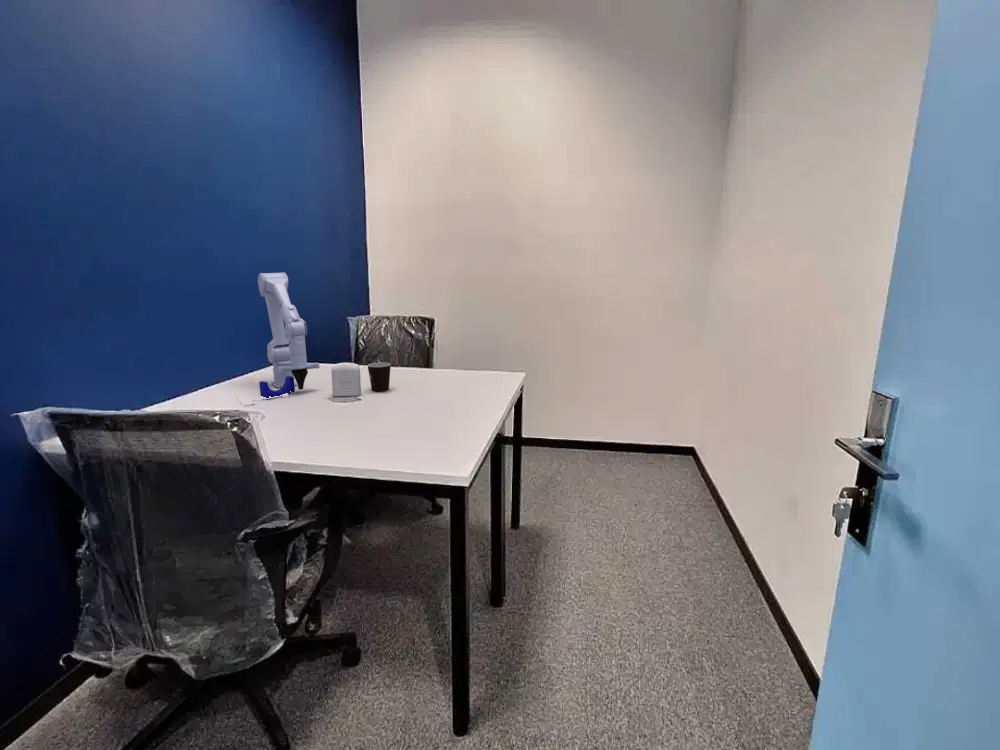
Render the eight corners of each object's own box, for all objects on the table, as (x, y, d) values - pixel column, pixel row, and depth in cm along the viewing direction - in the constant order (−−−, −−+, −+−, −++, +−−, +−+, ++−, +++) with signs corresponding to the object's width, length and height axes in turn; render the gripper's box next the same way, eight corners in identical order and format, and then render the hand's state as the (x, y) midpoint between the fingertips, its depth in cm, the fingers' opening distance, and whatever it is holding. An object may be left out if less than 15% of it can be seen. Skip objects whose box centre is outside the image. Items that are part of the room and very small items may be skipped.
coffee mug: (389, 393, 211) (388, 367, 209) (366, 393, 212) (365, 367, 209) (395, 385, 223) (394, 361, 221) (373, 385, 223) (372, 360, 221)
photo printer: (362, 393, 211) (360, 361, 208) (360, 396, 207) (358, 363, 204) (333, 394, 210) (331, 362, 207) (332, 397, 206) (329, 364, 203)
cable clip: (267, 399, 202) (265, 383, 200) (260, 397, 204) (259, 381, 203) (297, 393, 211) (295, 377, 210) (290, 391, 214) (289, 375, 212)
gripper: (279, 357, 201) (283, 393, 204) (320, 353, 209) (323, 388, 212) (275, 354, 207) (278, 389, 210) (315, 350, 215) (318, 384, 218)
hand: (300, 388), depth 212 cm, fingers closed
